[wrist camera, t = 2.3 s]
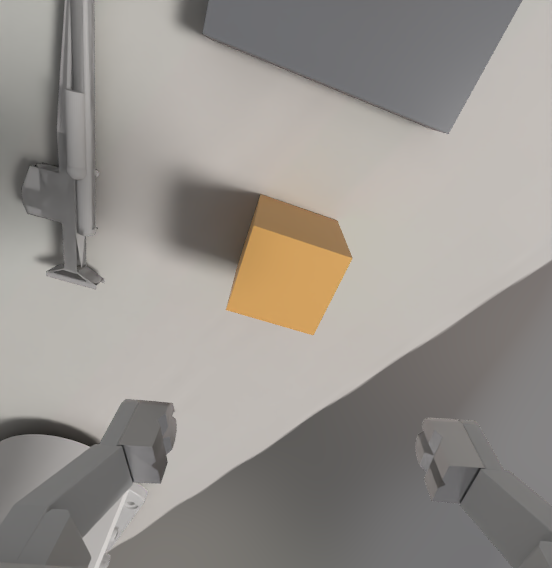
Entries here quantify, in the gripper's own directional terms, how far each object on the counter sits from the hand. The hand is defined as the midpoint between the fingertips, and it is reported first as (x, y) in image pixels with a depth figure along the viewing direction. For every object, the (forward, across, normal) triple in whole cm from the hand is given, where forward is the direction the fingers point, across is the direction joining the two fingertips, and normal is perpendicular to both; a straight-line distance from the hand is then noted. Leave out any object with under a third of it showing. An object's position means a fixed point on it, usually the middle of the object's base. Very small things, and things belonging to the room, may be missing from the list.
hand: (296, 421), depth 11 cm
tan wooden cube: (+15, +1, 0) cm, 15 cm away
